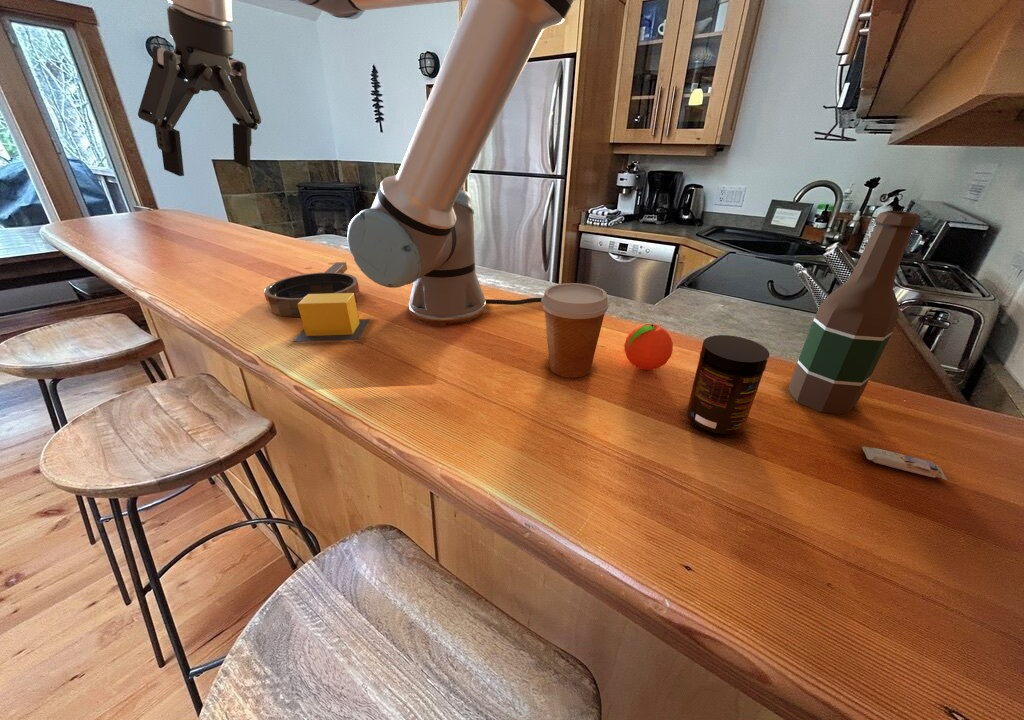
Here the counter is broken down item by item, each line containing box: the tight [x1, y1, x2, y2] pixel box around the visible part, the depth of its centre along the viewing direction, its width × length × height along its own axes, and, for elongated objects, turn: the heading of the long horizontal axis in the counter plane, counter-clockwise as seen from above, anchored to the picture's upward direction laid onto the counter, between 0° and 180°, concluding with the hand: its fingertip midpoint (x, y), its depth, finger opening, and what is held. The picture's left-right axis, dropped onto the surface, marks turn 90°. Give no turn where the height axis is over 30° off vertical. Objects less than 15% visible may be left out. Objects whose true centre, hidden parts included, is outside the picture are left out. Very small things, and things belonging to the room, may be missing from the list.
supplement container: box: [685, 334, 771, 439], centre depth 48 cm, size 7×7×10 cm
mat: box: [292, 318, 371, 343], centre depth 74 cm, size 11×9×1 cm
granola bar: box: [861, 445, 948, 481], centre depth 44 cm, size 7×2×1 cm, turn 63°
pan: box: [263, 271, 361, 318], centre depth 86 cm, size 18×18×4 cm
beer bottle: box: [788, 210, 921, 415], centre depth 50 cm, size 8×8×24 cm
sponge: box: [298, 293, 360, 336], centre depth 73 cm, size 8×5×6 cm, turn 94°
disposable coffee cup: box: [540, 282, 610, 379], centre depth 60 cm, size 10×10×12 cm
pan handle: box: [324, 261, 348, 273], centre depth 98 cm, size 3×11×2 cm, turn 4°
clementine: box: [623, 323, 674, 371], centre depth 61 cm, size 8×7×7 cm
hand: (211, 168), depth 70 cm, fingers open, 13 cm apart
